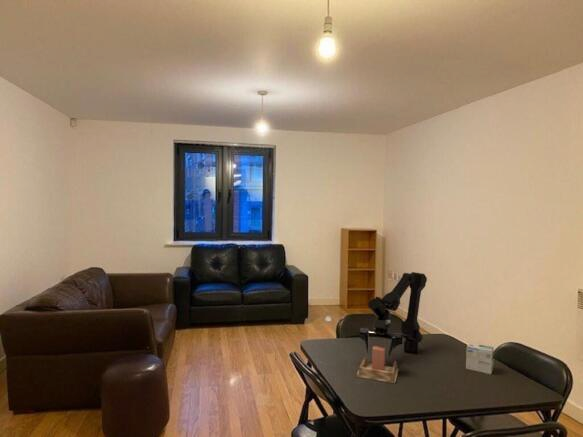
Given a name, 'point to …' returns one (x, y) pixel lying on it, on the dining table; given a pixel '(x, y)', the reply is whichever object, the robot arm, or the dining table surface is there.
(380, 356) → the pink rectangular block
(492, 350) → the light bulb box
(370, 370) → the rack
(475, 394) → the dining table surface
